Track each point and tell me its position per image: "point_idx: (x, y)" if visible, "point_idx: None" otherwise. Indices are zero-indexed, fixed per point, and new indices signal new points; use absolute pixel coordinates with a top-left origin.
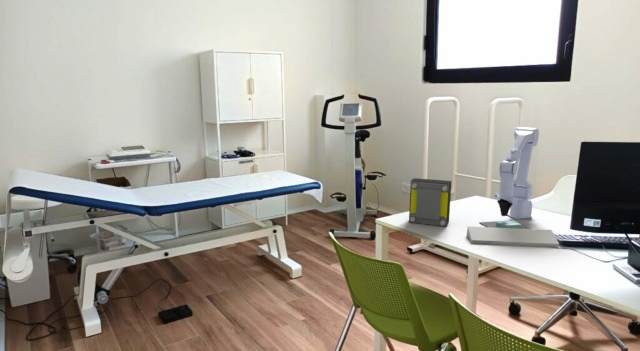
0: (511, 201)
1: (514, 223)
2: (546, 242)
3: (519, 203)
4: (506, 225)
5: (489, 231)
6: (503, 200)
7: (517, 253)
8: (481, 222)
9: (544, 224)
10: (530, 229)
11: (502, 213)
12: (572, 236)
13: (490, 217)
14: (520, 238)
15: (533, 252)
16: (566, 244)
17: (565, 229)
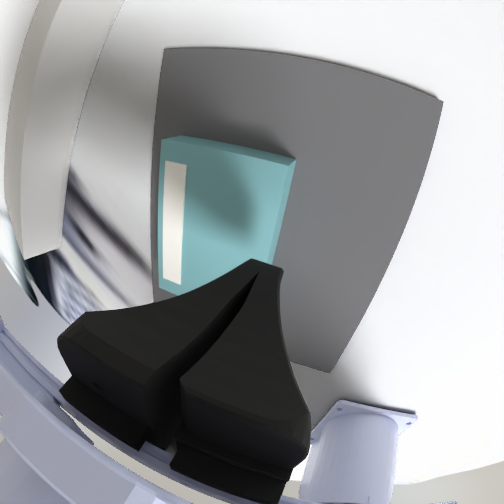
0: (16, 367)
1: (188, 266)
2: (5, 165)
3: (322, 488)
4: (161, 160)
5: None
6: (179, 448)
7: (13, 25)
8: (432, 116)
9: None
10: (19, 180)
11: (241, 268)
12: None
13: (469, 325)
14: (17, 81)
15: (3, 79)
16: None
17: None
